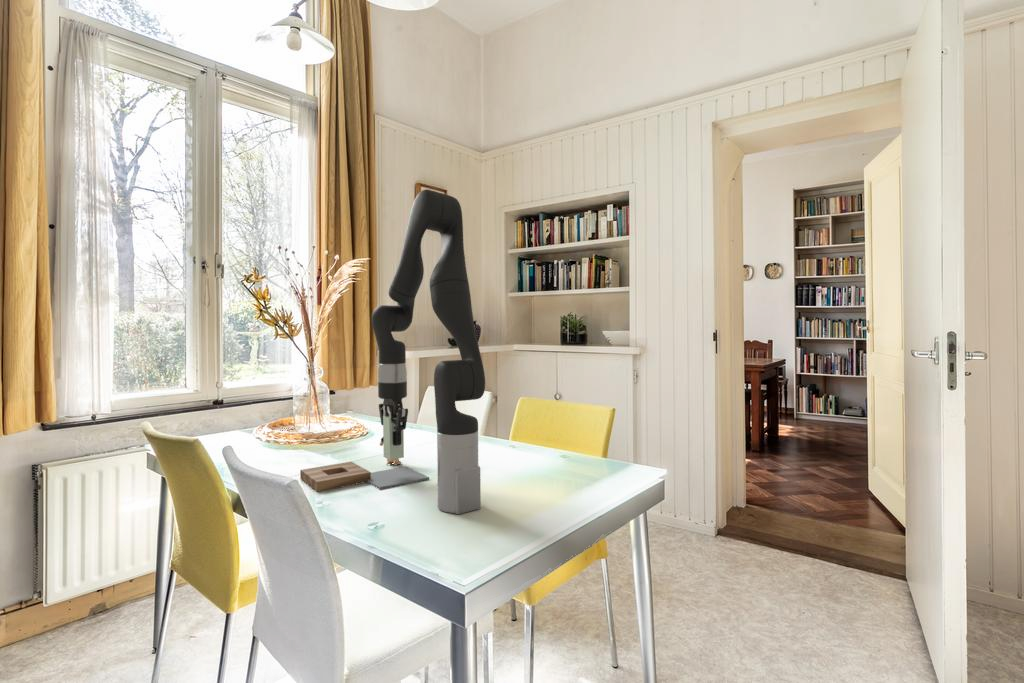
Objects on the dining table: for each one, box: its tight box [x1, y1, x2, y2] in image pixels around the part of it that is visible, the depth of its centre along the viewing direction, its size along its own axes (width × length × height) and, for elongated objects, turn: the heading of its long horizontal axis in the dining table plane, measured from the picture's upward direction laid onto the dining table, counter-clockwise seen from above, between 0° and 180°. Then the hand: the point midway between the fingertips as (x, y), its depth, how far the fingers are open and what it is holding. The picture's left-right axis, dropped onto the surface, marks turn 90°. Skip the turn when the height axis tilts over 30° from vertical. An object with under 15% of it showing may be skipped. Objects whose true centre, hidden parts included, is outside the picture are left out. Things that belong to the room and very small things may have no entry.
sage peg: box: [382, 416, 405, 460], centre depth 143 cm, size 4×4×11 cm
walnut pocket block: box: [299, 461, 372, 493], centre depth 141 cm, size 14×14×2 cm
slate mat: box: [366, 465, 430, 490], centre depth 143 cm, size 14×14×1 cm
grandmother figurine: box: [379, 437, 402, 466], centre depth 158 cm, size 8×4×13 cm, turn 84°
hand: (393, 443), depth 143 cm, fingers closed on sage peg, 4 cm apart
